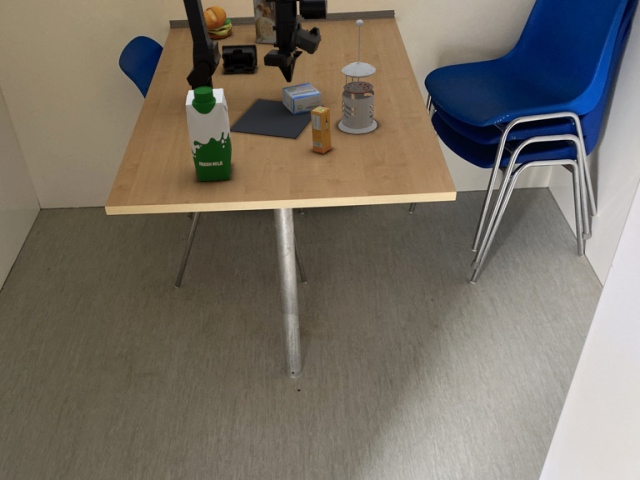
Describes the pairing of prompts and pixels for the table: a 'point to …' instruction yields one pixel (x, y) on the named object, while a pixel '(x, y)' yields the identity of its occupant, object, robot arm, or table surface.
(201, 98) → the milk carton
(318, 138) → the supplement box
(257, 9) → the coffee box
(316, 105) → the medicine box
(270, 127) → the mat
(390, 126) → the table surface
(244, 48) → the end cap
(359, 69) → the french press
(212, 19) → the cheeseburger
